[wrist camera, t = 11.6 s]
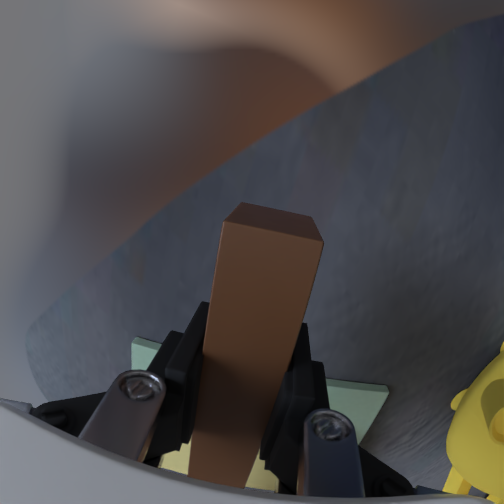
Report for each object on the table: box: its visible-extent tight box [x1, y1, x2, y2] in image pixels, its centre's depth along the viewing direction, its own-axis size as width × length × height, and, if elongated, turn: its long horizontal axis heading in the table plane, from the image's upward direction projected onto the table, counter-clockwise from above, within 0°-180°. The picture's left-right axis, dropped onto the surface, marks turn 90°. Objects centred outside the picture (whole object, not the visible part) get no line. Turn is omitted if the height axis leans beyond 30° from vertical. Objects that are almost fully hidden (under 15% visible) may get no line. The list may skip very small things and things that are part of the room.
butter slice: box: [161, 435, 192, 475], centre depth 17 cm, size 3×4×3 cm
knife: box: [187, 202, 324, 489], centre depth 11 cm, size 21×2×3 cm, turn 169°
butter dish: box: [132, 337, 389, 445], centre depth 19 cm, size 16×11×1 cm
